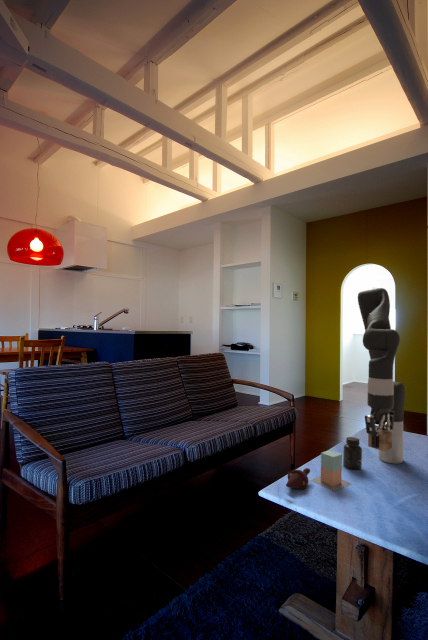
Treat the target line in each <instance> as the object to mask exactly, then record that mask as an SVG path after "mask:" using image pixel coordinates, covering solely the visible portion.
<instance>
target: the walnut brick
mask: <svg viewBox="0 0 428 640" xmlns="http://www.w3.org/2000/svg"><path fill="white" fill-rule="evenodd" d="M376 430H377V428H376ZM367 434H368V433H367ZM367 437H368V439H367V445H368V447H370V448H371V449H375V450H378V451H379V450H381V451H385V450H388V449H390V448H392V432H390V431H386V430H382V429H380V433H379V448H374V447H372V446H371V434H368V436H367Z"/></svg>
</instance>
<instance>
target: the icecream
mask: <svg viewBox="0 0 428 640" xmlns="http://www.w3.org/2000/svg"><path fill="white" fill-rule="evenodd" d="M310 473H311V469H310V468H309V467H307V468H306V467H305V468H304V469H303V470H301V469H292V470H290V471H289V472H287V481H286V485H285V487H287V488H292V489H295V490H296V489H297V490H298V489H299V490H302V491H303V490H306V489H307V486H308V485H309V477H308V475H309V474H310Z"/></svg>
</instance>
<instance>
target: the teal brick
mask: <svg viewBox="0 0 428 640" xmlns="http://www.w3.org/2000/svg"><path fill="white" fill-rule="evenodd" d="M321 467H323V468H325V469H328V470H330V471H332V472H334V471H336V470H339V469H343V454H341V453H340V452H337V451H333V450H331V449H330V450H326V451H325V450H324V451H323V452H321V453H320V468H321Z"/></svg>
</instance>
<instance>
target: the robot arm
mask: <svg viewBox="0 0 428 640" xmlns="http://www.w3.org/2000/svg"><path fill="white" fill-rule="evenodd" d="M357 304H358V307H359V310H360V316H361V319H362V322H363V326H364V333H363V335H362V345H363V347H364V348H365V349H366V350H368V355H369V357H370V358H369V359H370V360H369V361H368V379H367V380H368V381H367V406H368V407H370V413H369V415H366V414H365V415H364V422H365V430H366V431H365V432H366V434H371V446H372V447H374V448H373V449H375V448H379V433H380V429H382V430H386V431H390V432H392V448H390V449H388V450H385V451H381V450H378V459H379V460H380V461H382V462H385V463H388V464H395V465H396V464H397V465H398V464H402V463H403V461H404V415H405V399H406V388H405V385H404V383H403V382H400V381H394V364H395V363H394V362H395V357H396V355H397V351H398V348H399V345H400V342H401V338H400V336H401V335H400V334H399V332H398V331H397V330H396V329H392V327H391V323H390V309H391V301H390V296H389V293H388V291H387V289H386V288H383V287H381V288H380V287H379V288H373V289H368V290H363V291H360V292H358V293H357ZM376 428H377V430H376ZM372 447H371V448H372Z"/></svg>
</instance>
